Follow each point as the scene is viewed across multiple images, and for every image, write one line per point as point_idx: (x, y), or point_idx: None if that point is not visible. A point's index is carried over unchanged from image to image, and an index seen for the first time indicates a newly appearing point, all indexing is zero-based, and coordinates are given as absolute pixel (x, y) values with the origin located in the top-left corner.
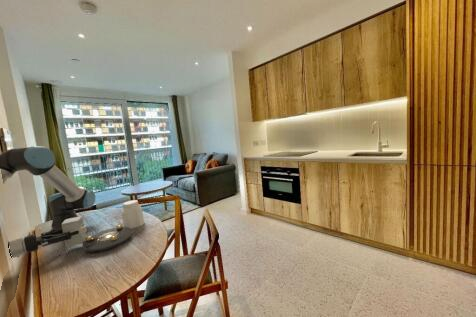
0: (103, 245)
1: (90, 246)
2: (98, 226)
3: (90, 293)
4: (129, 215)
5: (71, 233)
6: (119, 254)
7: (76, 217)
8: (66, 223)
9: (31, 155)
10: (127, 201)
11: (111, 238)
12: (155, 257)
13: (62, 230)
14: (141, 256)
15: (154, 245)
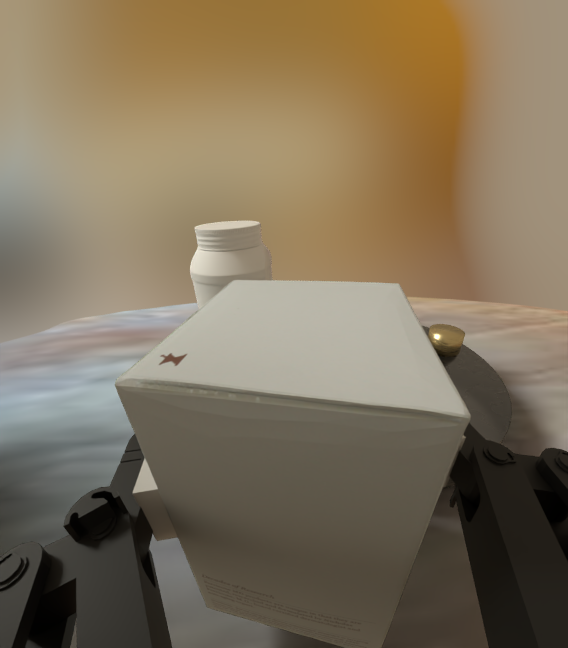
0: (494, 376)
1: (485, 425)
2: (18, 430)
3: None
4: (266, 279)
5: (482, 439)
6: (523, 368)
7: (242, 296)
8: (439, 360)
9: None
10: (195, 227)
11: (463, 337)
12: (565, 314)
13: (152, 615)
14: (553, 330)
15: (475, 310)
